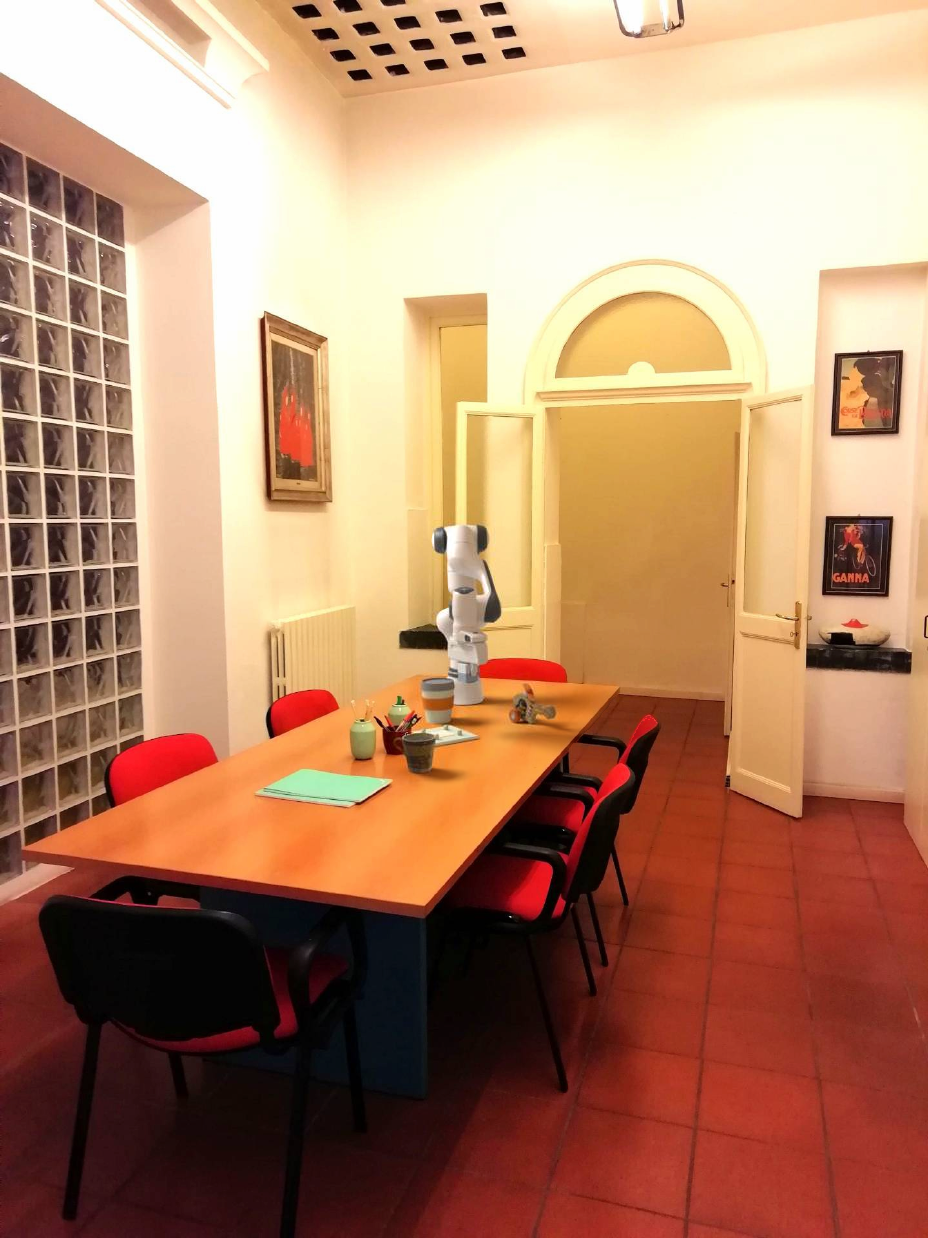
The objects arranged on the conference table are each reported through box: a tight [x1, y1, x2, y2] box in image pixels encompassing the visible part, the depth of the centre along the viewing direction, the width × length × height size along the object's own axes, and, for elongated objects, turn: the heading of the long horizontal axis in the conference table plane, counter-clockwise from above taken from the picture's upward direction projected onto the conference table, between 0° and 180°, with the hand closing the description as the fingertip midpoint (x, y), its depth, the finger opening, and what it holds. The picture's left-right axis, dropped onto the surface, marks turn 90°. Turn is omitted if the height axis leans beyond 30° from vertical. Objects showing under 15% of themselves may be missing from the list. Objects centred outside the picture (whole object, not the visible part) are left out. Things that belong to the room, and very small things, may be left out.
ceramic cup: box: [393, 733, 436, 774], centre depth 260 cm, size 13×10×10 cm
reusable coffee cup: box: [420, 677, 455, 725], centre depth 320 cm, size 12×13×15 cm
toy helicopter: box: [508, 683, 557, 725], centre depth 312 cm, size 8×21×14 cm, turn 38°
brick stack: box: [458, 662, 479, 683], centre depth 302 cm, size 5×5×6 cm
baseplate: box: [412, 724, 479, 747], centre depth 297 cm, size 18×18×2 cm
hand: (467, 674), depth 302 cm, fingers closed on brick stack, 5 cm apart
